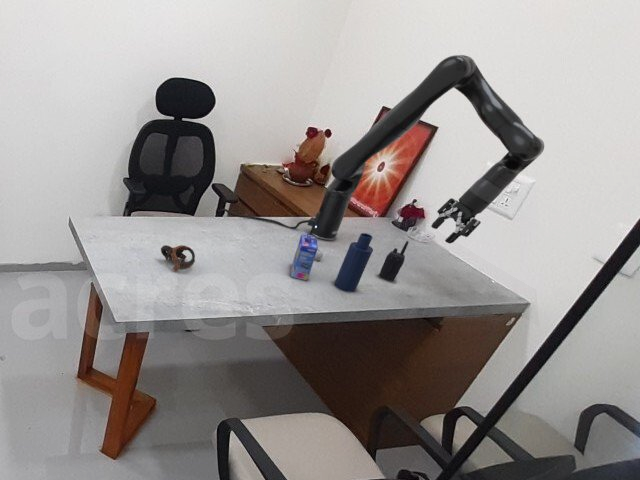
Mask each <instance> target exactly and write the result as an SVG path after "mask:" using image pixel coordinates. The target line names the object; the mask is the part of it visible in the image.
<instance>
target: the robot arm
mask: <svg viewBox="0 0 640 480" xmlns="http://www.w3.org/2000/svg"><path fill="white" fill-rule="evenodd" d="M452 89H455V90H456V91H458V92H459V93H460V94H462V95H463V96H464V97H465V98H466V99H467V100H468V101H469V102H470V104H471V105H472V107H473V109H474V110H475V112H476V114H477V117H478V118H479V119H480V121H481V122H482V123H483V124H484V125H485V126H486V127H487V129H489V131H490V132H491V133H492V134H493V135H494V136H495V137H496V138H497V139H498V140H500V143H501V144H502V145H503V146H504V147H505V149H506V150H507V151H508V152H507V153H506V154H505V155H504V156H503V157H501V159H500V160H499V161H497V162H495V163H494V164H493V165H492V166H491V167H489V169H488V170H487V171H486V172H485V173H484V174H483V175H482V176H481V177H480V178H478V179H477V180H476V181H474V183H473V184H472V185H471V186H470V187H469V188H468V189H467V190H466V191H464V193H463V194H462V195H461V196H460V197H459V198H458V200H457V199H454V198H449V199H448V200H447V201H446V202H445V203H444V204H443V205H442V206H440V208H439V209H438V210H437V211H436V212H437V214H438V217H437V218H436V219H435V220H434V221H433V222H432V224H431V226H430V227H431V228H432V229H435V230H437V229H438V228H440V227H441V226H442V225H443V224H444V223H445V221H446V220H448V219H453V221H454V222H455V229H454V231H453V232H451V234H449V236H447V237H446V238H445V239H444V241H445V242H446V243H447V244H453V243H454V242H455V241H456V240H457V239H459V238H460V237H465V238H468V237H470V235H471V234H472V233H473V232H474V231H475V230H476V229H477V228H478V227H479V226H480V224H481V222H482V221H481V220H478V219H477V218H476V217H477V215H478V214H481V213H483V212H484V210H485V209H487V208H488V207H489V206H490V205H491V204H492V203H493V202H494V201H495V200H496V199H497V198H498V197H499V196H500V195H501V194H502V192H503V191H504V190H505V189H506V188H507V187H508V186H509V185H510V184H511V183H512V182H513V181H514V180H515V179H516V178H517V177H518V176H519V174H521V172H523V171H524V170H525V169H527V168H528V167H529V166H530V165H531V164H532V163H534V161H535V160H537V159H538V158H539V157H540V156H541V155H542V153H543V152H544V150H545V142H544V140H543V139H542V138H540V137H539V136H536V135H535V134H534V133H533V131H532V130H530V129H529V128H528V127H527V126H526V125H525V124H524V121H523V120H522V118H521V117H520V116H519V115H518V113H516V112H515V111H514V110H513V108H511V107H510V106H509V104H507V102H505V100H504V99H502V97H501V96H500V95H499V94H498V93H497V92H496V91H495V90H494V89H493V87H492V86H491V85H490V84H489V82H488V81H487V80H486V78H485V76H484V75H483V73H482V72H481V70H480V68H479V67H478V65H477V64H476V62H475V60H474V59H473V58H472V57H471V56H469V55H466V54H455V55H450V56H448V57H445V58H444V59H443V60H441V61H440V62H439V63H438V64H437V65H436V66H435V67H434V68H433V69H432V70H431V71H430V73H428V74H427V76H426V77H425V78H424V79H423V80H422V81H421V82H420V83H419V84H418V86H416V88H414V89H413V90H412V91H411V92H410V93H408V94H407V95H406V96H405V97H404V98H402V99H401V100H400V101H399V102H398V103H397V104H396V105H394V106H393V107H392V108H391V109H390V110H389V111H387V112H386V113H385V114H384V115H383V117H381V118H380V119H379V120H378V121H377V122H376V123H375V124H374V125H372V127H371V128H370V129H369V130H368V131H367V132H366V133H365V134H364V135H363V136H362V137H361V138H360V139H359V140H358V141H357V142H356V143H355V144H354V145H352V146H351V147H350V148H348V149H347V150H346V151H345V152H343V153H342V154H341V155H339V156H338V157H337V158H336V159H335V160H334V161H333V163H332V164H331V168H330V171H331V172H330V173H331V175H332V176H333V180H332V182H331V183H329V184H328V186H327V187H326V190H325V193H324V196H323V198H322V201H321V204H320V207H319V210H318V211H317V212H316V215H315V217H314V216H311V217H310V219H306V220H301V221H298V223H296V225H295V226H289V225H286V224H285V223H282V222H280V221H277V220H274V219H271V218H265V217H258V216H254V215H247V214H240V213H235V212H233V211H230V210H229V209H226V208H222V209H220V210H218V212H219V213H222V212H226V213H228V214H229V215H232V216H235V217H239V218H246V219H252V220H257V221H264V222H268V223H272V224H277V225H279V226H282V227H284V228H287V229H290V230H296V229H298V227H300V225H302V224H307V226H310V227H311V228H310V232H309V235H310V236H313V237H317V239H319V240H323V241H330V242H331V241H335V240H336V238H337V235H338V232H339V230H340V227H341V224H342V222H343V220H344V217H345V214H346V212H347V210H348V207H349V204H350V201H351V200H352V196H353V195H354V193H355V192H356V190H357V189H358V187H359V185H360V182H361V180H362V177H363V175H364V173H365V170H366V165H367V163H366V162H368V160H370V159H371V158H372V157H374V156H375V155H377V154H378V153H380V152H381V151H383V150H384V149H386V148H388V147H389V146H391V145H392V144H394V143H395V142H397V141H399V140H400V139H401V138H403V136H405V135H406V134H407V133H408V132H409V131H411V129H412V128H414V126H416V125H417V123H419V121H420V120H421V119H422V117H423V116H424V114H425V113H426V112H427V111H428V109H429V108H430V107H431V106H432V105H433V104H434V103H435V102H436V101H437V100H439V99H440V98H441V97H442V96H444V95H445V94H446V93H448V92H449V91H451V90H452Z"/></svg>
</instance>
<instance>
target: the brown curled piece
mask: <svg viewBox="0 0 640 480" xmlns="http://www.w3.org/2000/svg"><path fill="white" fill-rule="evenodd" d="M185 251H188V252H189V253H190V254H191V259H190V260H188V261H185V260H186V258H187V255H186V254H184V252H185ZM160 253H161V255H162V256H163V257H164V258H165V261H168V260H171V259H172V262H173V263H174V265H173V267H172V270H173V271H175V272H178V271H182V270H187V269H190V268H191V267H192V266H193V265H194V263H195V262H196V253H195V252H194V250H193V249H192V248H191V247H190V246H187V245H182V244H179V245H177V246H175V247H172V246H170V245H167V244H166V245H165V244H164V245H162V247H160ZM179 259H180V260H181V261H180V262H179Z"/></svg>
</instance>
